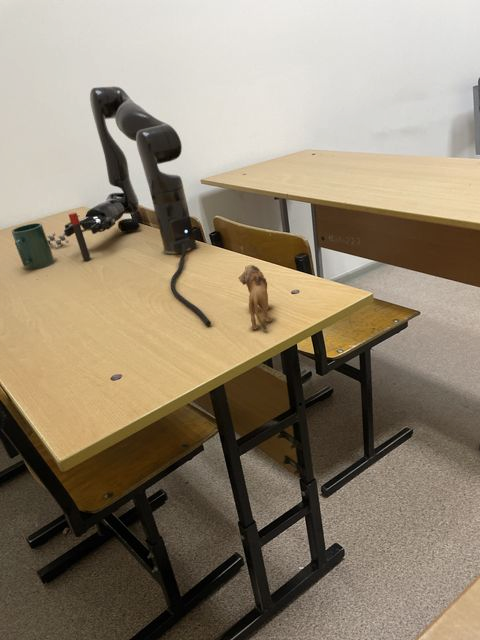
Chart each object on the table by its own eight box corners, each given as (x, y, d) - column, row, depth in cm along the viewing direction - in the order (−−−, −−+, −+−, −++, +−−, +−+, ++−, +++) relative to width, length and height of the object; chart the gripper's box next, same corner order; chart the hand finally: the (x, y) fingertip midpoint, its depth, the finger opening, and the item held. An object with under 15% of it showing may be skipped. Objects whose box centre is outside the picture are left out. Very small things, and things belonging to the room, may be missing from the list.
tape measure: (140, 230, 178) (138, 220, 177) (121, 235, 177) (118, 224, 175) (138, 226, 184) (135, 216, 182) (119, 231, 183) (116, 220, 181)
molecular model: (31, 251, 177) (26, 236, 175) (38, 246, 181) (33, 232, 179) (67, 248, 174) (62, 233, 172) (73, 244, 177) (68, 229, 175)
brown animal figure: (242, 305, 111) (235, 265, 107) (267, 300, 112) (261, 260, 108) (253, 335, 99) (245, 290, 94) (281, 329, 99) (274, 284, 95)
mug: (33, 261, 166) (20, 225, 161) (59, 257, 165) (46, 221, 160) (14, 275, 155) (-1, 237, 150) (41, 272, 154) (27, 234, 149)
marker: (92, 259, 158) (77, 213, 151) (84, 261, 157) (69, 215, 150) (89, 258, 160) (75, 212, 153) (82, 260, 159) (67, 214, 152)
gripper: (79, 207, 168) (53, 221, 155) (119, 202, 165) (97, 216, 152) (86, 230, 172) (61, 246, 158) (126, 225, 169) (105, 242, 155)
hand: (79, 232), depth 155 cm, fingers open, 8 cm apart
